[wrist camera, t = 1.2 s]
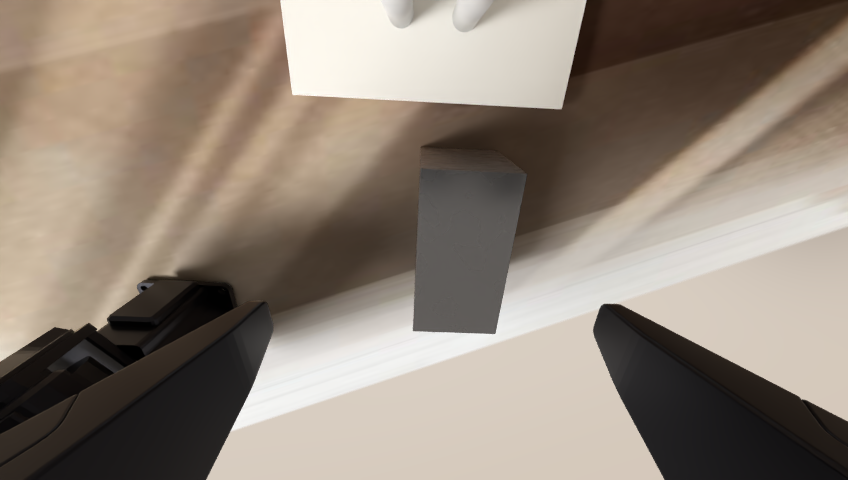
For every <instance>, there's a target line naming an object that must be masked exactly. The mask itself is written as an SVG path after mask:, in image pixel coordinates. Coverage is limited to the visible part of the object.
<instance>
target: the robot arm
mask: <svg viewBox="0 0 848 480" xmlns="http://www.w3.org/2000/svg"><path fill="white" fill-rule="evenodd" d="M137 289H138V291H139V293H140V294H139V295H138V296H136V297H135V298H133V299H132V300H130V301H129V302H128V303H126V304H125V305H123V306H122V307H121V308H119V309H118V310H116V311H115V312H114V313H112V314H111V315H110V316H109V317H108V318H107V321H108V324H107V325H105V326H104V327H102V328H101V329H100V330H98V331H96V330H97V328H95V327H94V326H93V325H91V324H90V323H88V324H86V325H84V326H83V327H81V328H79V329H78V330H76V331H75V332H74V331H73V330H72V329H70V330H67V329H61V328H56V327H54V328H53V329H51V330H50V331H48V332H47V333H45V334H43V335H42V336H40V337H39V338H37V339H36V340H34V341H32V342H31V343H29V344H28V345H26V346H25V347H23V348H21V349H20V350H18V351H17V352H15V353H14V354H12V355H10V356H9V357H7V358H6V359H4V360H2V361H1V362H0V480H206V479H207V477H208V475H209V473H210V471H211V469H212V467H213V465H214V463H215V461H216V459H217V457H218V455H219V453H220V450H221V449H222V446H223V445H224V443H225V441H226V439H227V437H228V435H229V433H230V431H231V429H232V427H233V425H234V423H235V421H236V419H237V417H238V415H239V413H240V411H241V409H242V407H243V405H244V403H245V401H246V399H247V397H248V395H249V392H250V390H251V388H252V386H253V383H254V381H255V379H256V376H257V373H258V371H259V368H260V365H261V363H262V360H263V357H264V355H265V352H266V349H267V347H268V344H269V341H270V339H271V336H272V333H273V322H272V318H271V314H270V310H269V306H268V304H267V302H265V301H248V302H246V303H244V304H242V305H240V306H239V307H237V305H236V301H235V297H234V294H233V290H232V288H231V286H230V285H229V284H227V283H217V282H195V281H179V280H144V281H142V282H141V283H139V284H138V285H137ZM222 289H224V290H225V291H224V290H222ZM593 332H594V337H595V339H596V342H597V344H598V347H599V349H600V351H601V354H602V356H603V359H604V361H605V363H606V366H607V368H608V371H609V373H610V376H611V378H612V380H613V383H614V385H615V387H616V389H617V391H618V393H619V395H620V397H621V399H622V401H623V403H624V405H625V407H626V409H627V410H628V412H629V414H630V416H631V418H632V420H633V422H634V424H635V425H636V427H637V429H638V431H639V433H640V435H641V437H642V438H643V440H644V442H645V444H646V446H647V448H648V449H649V452H650V453H651V455H652V457H653V459H654V461H655V463H656V464H657V466H658V468H659V470H660V472H661V474H662V476H663V478H664V480H848V421H846V420H844V419H842V418H840V417H838V416H836V415H834V414H832V413H830V412H828V411H826V410H824V409H822V408H820V407H818V406H816V405H814V404H812V403H810V402H809V401H807V400H801V399H800V397H798V396H797V395H795V394H793V393H791V392H789V391H787V390H785V389H783V388H781V387H779V386H777V385H775V384H773V383H772V382H769V381H768V380H766V379H764V378H762V377H760V376H758V375H756V374H754V373H752V372H750V371H748V370H746V369H744V368H742V367H740V366H739V365H737V364H735V363H733V362H731V361H729V360H727V359H725V358H723V357H721V356H719V355H717V354H715V353H713V352H711V351H709V350H707V349H705V348H704V347H702V346H700V345H698V344H696V343H694V342H692V341H690V340H688V339H686V338H684V337H682V336H680V335H678V334H676V333H674V332H672V331H670V330H669V329H667V328H665V327H663V326H661V325H659V324H657V323H655V322H653V321H651V320H649V319H647V318H645V317H643V316H641V315H639V314H638V313H636V312H634V311H632V310H630V309H628V308H626V307H624V306H622V305H620V304H603V305H602V306H601V307H600V309H599V313H598V315H597V319H596V321H595V324H594V329H593Z"/></svg>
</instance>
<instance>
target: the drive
mask: <svg viewBox="0 0 848 480" xmlns="http://www.w3.org/2000/svg"><path fill="white" fill-rule="evenodd" d="M526 178H527V173H526V172H524V171H523V170H522V169H520V168H519V167H518V166H516V165H515V164H514V163H512V162H511V161H510V160H508V159H507V158H506V157H505V156H503V155H502V154H501V153H499V152H498V151H494V150H474V149H455V148H435V147H421V155H420V178H419V200H418V223H417V246H416V268H415V294H414V319H413V331H427V332H455V333H484V334H495V333H496V328H497V323H498V318H499V313H500V308H501V303H502V298H503V293H504V288H505V283H506V278H507V273H508V268H509V263H510V258H511V253H512V248H513V243H514V238H515V233H516V228H517V223H518V218H519V213H520V208H521V203H522V198H523V193H524V188H525V183H526Z"/></svg>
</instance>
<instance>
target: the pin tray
mask: <svg viewBox="0 0 848 480" xmlns="http://www.w3.org/2000/svg"><path fill="white" fill-rule="evenodd" d="M586 1H587V0H281V8H282V16H283V24H284V32H285V40H286V48H287V56H288V64H289V71H290V79H291V87H292V95H307V96H326V97H344V98H363V99H381V100H400V101H418V102H436V103H455V104H473V105H492V106H510V107H529V108H547V109H562V106H563V101H564V97H565V93H566V88H567V84H568V80H569V75H570V71H571V66H572V62H573V58H574V53H575V49H576V44H577V40H578V36H579V31H580V27H581V23H582V18H583V14H584V9H585V5H586Z"/></svg>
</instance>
